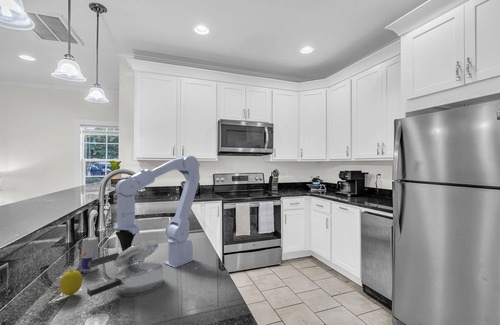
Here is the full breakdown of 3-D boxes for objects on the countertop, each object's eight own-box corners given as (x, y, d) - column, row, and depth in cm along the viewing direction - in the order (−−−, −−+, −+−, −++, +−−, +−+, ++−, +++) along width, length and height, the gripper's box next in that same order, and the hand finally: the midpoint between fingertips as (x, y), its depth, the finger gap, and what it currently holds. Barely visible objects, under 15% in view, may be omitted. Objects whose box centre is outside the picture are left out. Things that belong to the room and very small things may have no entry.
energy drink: (79, 270, 92) (80, 238, 92) (95, 265, 96) (95, 235, 96) (83, 274, 89) (83, 241, 89) (100, 269, 92) (100, 238, 93)
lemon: (86, 291, 76) (86, 265, 76) (74, 300, 71) (74, 273, 71) (68, 291, 76) (68, 266, 76) (54, 301, 70) (54, 273, 71)
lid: (148, 258, 89) (146, 253, 90) (164, 238, 83) (162, 233, 84) (83, 280, 73) (81, 273, 74) (98, 257, 67) (95, 250, 67)
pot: (148, 272, 89) (148, 258, 89) (171, 282, 81) (171, 268, 81) (79, 298, 72) (79, 281, 72) (99, 315, 63) (99, 296, 63)
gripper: (105, 212, 87) (105, 250, 87) (124, 217, 78) (124, 258, 78) (125, 209, 93) (125, 245, 92) (145, 213, 84) (145, 252, 84)
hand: (126, 251), depth 85 cm, fingers closed
